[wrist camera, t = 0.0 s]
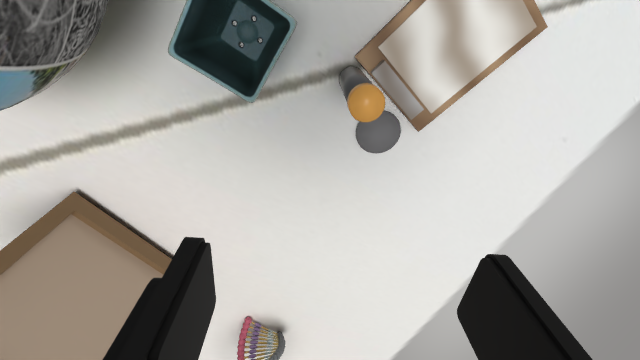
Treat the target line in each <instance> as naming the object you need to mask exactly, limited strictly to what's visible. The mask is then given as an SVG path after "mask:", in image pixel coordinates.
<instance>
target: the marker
mask: <svg viewBox="0 0 640 360" xmlns="http://www.w3.org/2000/svg"><path fill="white" fill-rule="evenodd" d="M339 83H340V86H341V88H342V91H343V93H344V96H345V98H346V100H347V104H348V108H349V111H350V113H351V115H352V116H353V117H354V118H355V119H356V120H358V121H360V122H371V121H373V120H375V119H377V118H378V117H379V116H380V115H381V114H382V112H383V110H384V108H385V98H384V95H383V93H382V92H381V91H380V90H379V89H378V88H377V87H376V86H375V85H373V84H372V83H371V81H370V80H369V79H368V78H367V77H366V76H365V75H364V73H363V72H362V71H361V70H360V69H359V68H357V67H347V68H345V69H344V70H343V71H342V72H341V74H340V77H339Z"/></svg>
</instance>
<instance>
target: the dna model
mask: <svg viewBox="0 0 640 360" xmlns="http://www.w3.org/2000/svg"><path fill="white" fill-rule="evenodd" d="M250 323H252V324H254V325H255V326H256V327H254V328H253V327H251V326H250ZM257 327H258V328H257ZM248 328H252V329H253V330H255V331H260V332H263V333H266V334H269V335H271V336H274V337H271V336H267V335H263V334H259V333H258V332H255V331H254V332H251V331H248ZM259 328H263V329H265V330H267V331H269V332H271V333H274V334H276V335H273V334H271V333H268V332H266V331H263V330H260V329H259ZM247 333H252V334H253V335H255V336H247V335H246V334H247ZM257 336H264V337H268V338H273V339H276V340H273V339H265V338H259V337H257ZM275 337H276V338H275ZM239 338H240V339H239V341H238V344H239V345H238V352H237V354H238V357H237V359H238V360H245V359H246V358H255V357H256V356H261V355H267V354H272V353H273V354H272V355H269V356H264V357H261V358H257V359H251V360H261V359H264V358H268V357H270V358H268V359H265V360H279V359H280V357H281V356H282V354H283V351H284V349H285V340H284V336H283V335H282V333H281V332H278V333H275V332H273V331H271V330H269V329H267V328H264V327H262V326H261V325H260V324H258V323H254V322H252V319H251V318H250V317H247V318H246V319H245V323H243V328H242V329H241V334H240V336H239ZM246 338H251V339H253V340H251V341H246V340H245V339H246ZM255 340H266V341H267V342H258V341H255ZM268 341H273V342H278V343H272V342H268ZM245 343H250V344H271V345H278V346H256V345H250V346H245ZM263 347H277V348H274V349H263V350H255V349H256V348H263ZM245 348H250V349H252V350H250V351H244V349H245ZM273 350H276V351H273ZM262 351H272V352H266V353H261V354H257V355H256V354H253V353H256V352H262ZM245 353H250V354H251V355H250V356H247V357H245V356H244V354H245Z"/></svg>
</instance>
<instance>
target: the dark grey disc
mask: <svg viewBox="0 0 640 360" xmlns="http://www.w3.org/2000/svg"><path fill="white" fill-rule="evenodd" d="M400 132H401V128H400V124H399V121H398V120H397V118H396V117H395V116H394V115H393V114H391V113H390V112H387V111H383V112H382V114H381V115H380V116H379V117H378V118H377V119H375V120H373V121H371V122H359V123H358V126H357V129H356V138H357V141H358V143H359V145H360V146H361V147H362V148H363V149H364V150H365V151H367V152H370V153H382V152H385V151H387V150H389V149H391V148H392V147H393V146H394V145H395V144H396V142H397V141H398V139H399V137H400Z"/></svg>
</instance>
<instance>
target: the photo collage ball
mask: <svg viewBox="0 0 640 360" xmlns="http://www.w3.org/2000/svg"><path fill="white" fill-rule="evenodd" d="M107 3H108V0H0V111H1V110H3V109H6V108H9V107H12V106H14V105H16V104H18V103H20V102H22V101H24V100H26V99H28V98H30V97H32V96H34V95H36V94H38V93H40V92H42V91H43V90H45V89H47V88H48V87H49V86H51V85H52V84H53V83H55V82H56V81H57V80H58V79H60V78H61V77H62V76H64V75H65V74H66V73H68V72H69V71H70V70H71V69H72V67H73V66H74V65H75V64H76V63H77V62H78V61H79V60H80V58H81V57H82V56H83V55H84V54H85V52H86V51H87V50H88V48H89V46H90V45H91V43H92V41H93V40H94V38H95V36H96V35H97V33H98V30H99V28H100V25H101V22H102V20H103V17H104V15H105V12H106V8H107Z"/></svg>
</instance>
